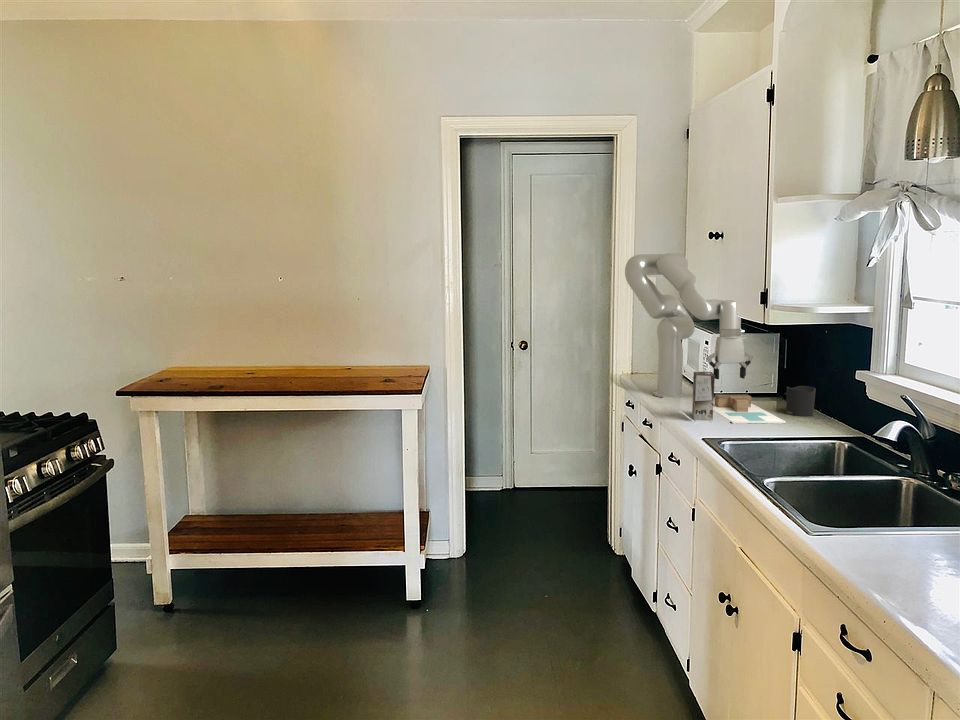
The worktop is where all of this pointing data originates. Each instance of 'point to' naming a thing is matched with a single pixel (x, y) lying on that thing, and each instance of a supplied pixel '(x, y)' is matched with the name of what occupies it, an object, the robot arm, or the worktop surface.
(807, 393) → the pen holder
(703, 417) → the coffee box
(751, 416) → the board
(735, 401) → the t block
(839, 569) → the worktop surface
